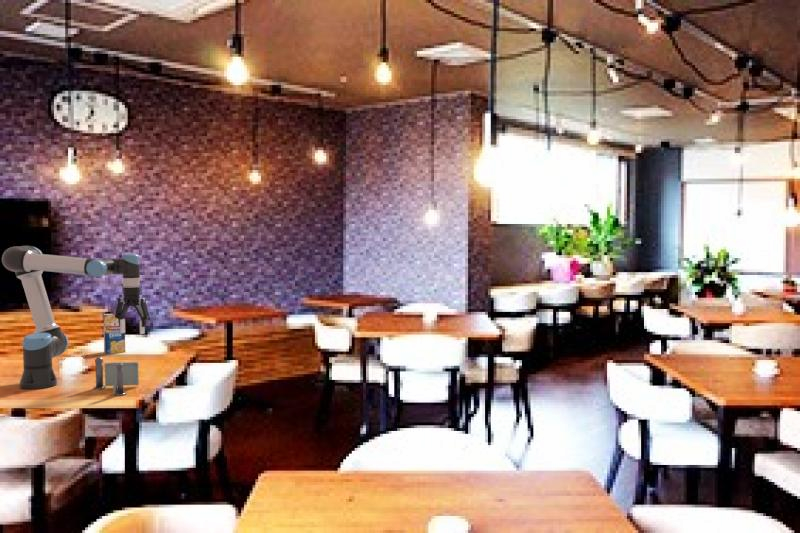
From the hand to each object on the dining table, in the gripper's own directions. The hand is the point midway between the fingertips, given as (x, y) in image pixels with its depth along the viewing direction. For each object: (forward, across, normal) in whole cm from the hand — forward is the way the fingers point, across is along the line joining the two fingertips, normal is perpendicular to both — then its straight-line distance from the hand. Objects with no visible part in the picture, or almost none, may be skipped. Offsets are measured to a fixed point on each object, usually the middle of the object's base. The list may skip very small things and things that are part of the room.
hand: (132, 333), depth 336 cm
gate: (+21, -7, +17) cm, 28 cm away
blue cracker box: (+22, +57, -61) cm, 86 cm away
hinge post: (+22, +2, +21) cm, 31 cm away
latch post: (+22, -15, +29) cm, 39 cm away
